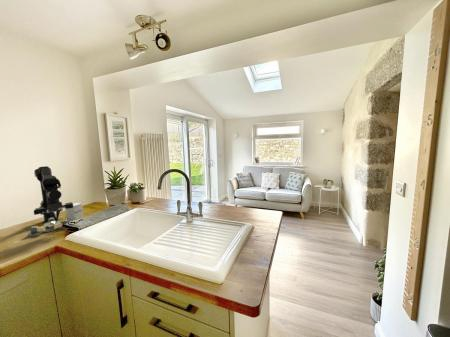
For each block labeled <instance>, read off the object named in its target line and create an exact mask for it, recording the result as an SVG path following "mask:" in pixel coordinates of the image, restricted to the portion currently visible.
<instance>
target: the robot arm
mask: <svg viewBox="0 0 450 337" xmlns="http://www.w3.org/2000/svg"><path fill="white" fill-rule="evenodd" d="M33 174H34V177H36V179H37V181H39V183H40V190H41V196H42V200H41V202H40V206H39V207H37V208H35V209H34V210H33V214H34V215H35V216H36V215H41V216H42V215H43V221H42V222H43V223H44V224H45V223H47V222H48V219H49V218H54V219H55V221H58V217H60V214H61V212H63V209H65V208H66V209H69V208H73V203H74V202H71V201H70V202H66V203H64V204H63V203H62V201H60V198H61V197H62V192H61V191H59V189H61V187H62V185H61V181H60V180H59V178H57V177H56V176H55V175H52V168H50V167H49V166H47V165H46V166H45V165H44V166H39V167H38V168H36V169H34V173H33ZM58 222H59V221H58Z"/></svg>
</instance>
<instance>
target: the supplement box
mask: <svg viewBox="0 0 450 337" xmlns="http://www.w3.org/2000/svg"><path fill="white" fill-rule="evenodd" d="M72 203H73V208H69V209H66V208H64V211H65V218H66V220H68V222H70V221H73V220H77V219H81V218H83V217H84V211H83V210H84V209H83V204H82V202H72ZM84 218H85V217H84Z"/></svg>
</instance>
